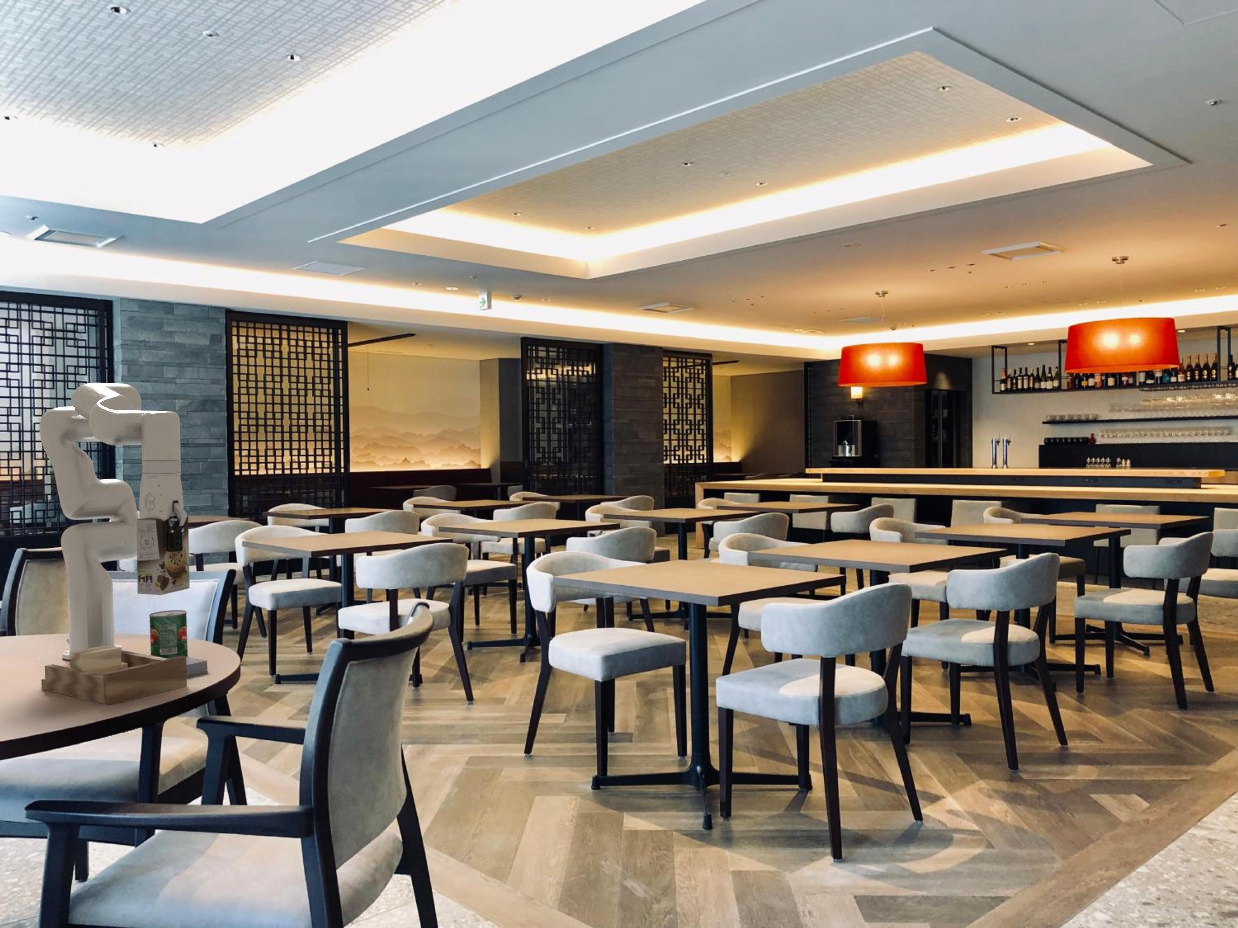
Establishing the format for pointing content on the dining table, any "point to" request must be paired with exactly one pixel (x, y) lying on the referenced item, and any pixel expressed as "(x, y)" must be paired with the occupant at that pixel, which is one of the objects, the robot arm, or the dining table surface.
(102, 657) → the offcut top
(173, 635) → the canned tomato
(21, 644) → the dining table surface
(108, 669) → the offcut bottom
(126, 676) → the tray
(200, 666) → the trivet
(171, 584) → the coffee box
